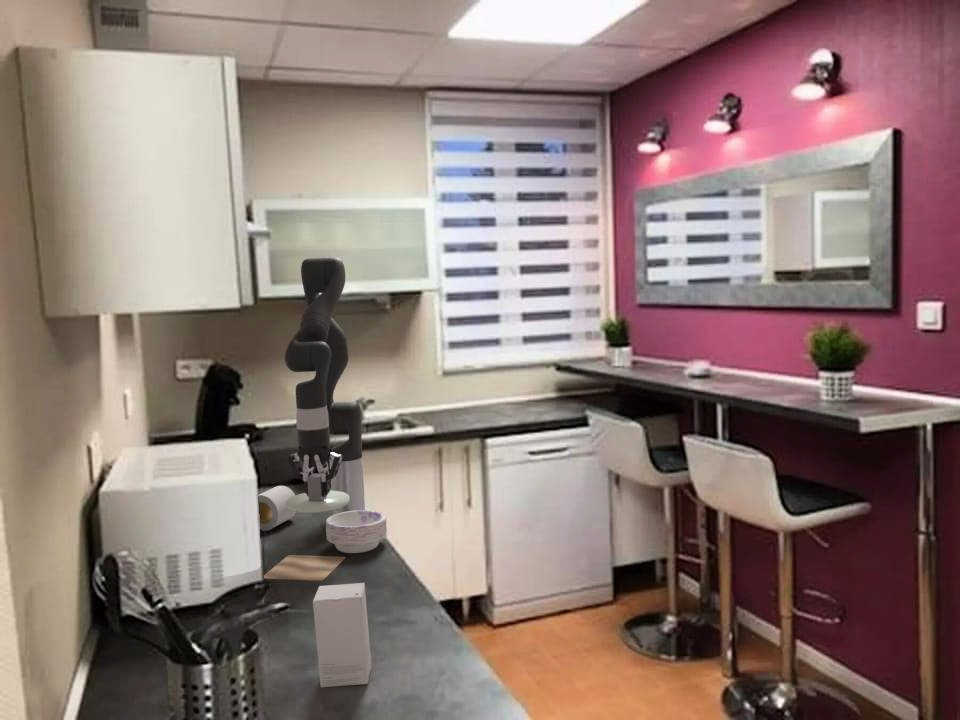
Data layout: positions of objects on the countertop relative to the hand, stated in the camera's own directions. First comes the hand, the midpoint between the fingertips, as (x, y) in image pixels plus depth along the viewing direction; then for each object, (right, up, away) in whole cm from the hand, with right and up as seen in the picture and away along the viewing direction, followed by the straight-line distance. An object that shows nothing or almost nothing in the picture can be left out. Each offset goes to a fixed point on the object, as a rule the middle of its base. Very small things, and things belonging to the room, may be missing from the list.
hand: (317, 495), depth 189 cm
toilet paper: (-19, -14, +32) cm, 40 cm away
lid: (0, -2, 0) cm, 2 cm away
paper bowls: (+8, -15, +11) cm, 20 cm away
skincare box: (+16, -22, -55) cm, 61 cm away
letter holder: (-15, -9, +80) cm, 82 cm away
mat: (-2, -17, -3) cm, 17 cm away
